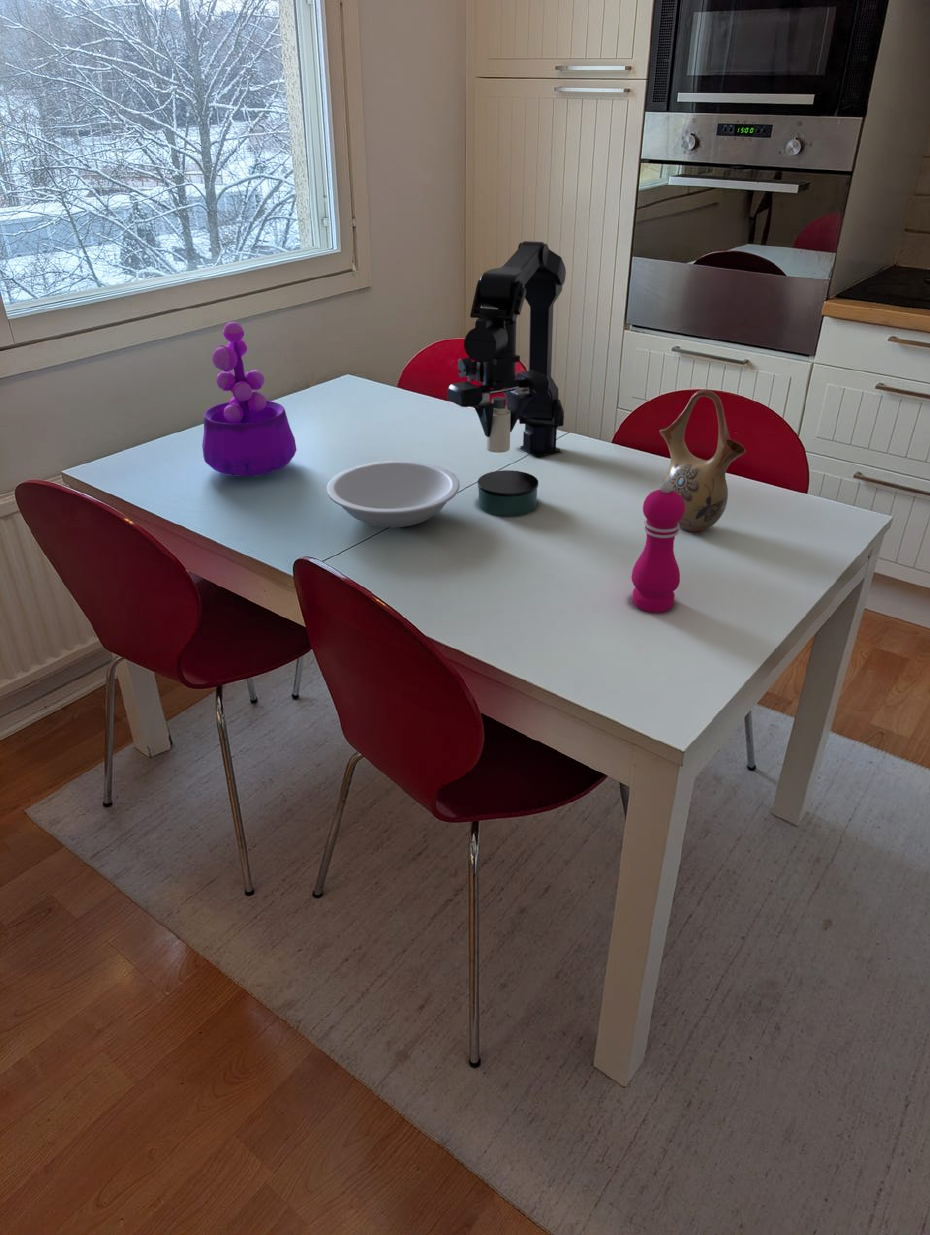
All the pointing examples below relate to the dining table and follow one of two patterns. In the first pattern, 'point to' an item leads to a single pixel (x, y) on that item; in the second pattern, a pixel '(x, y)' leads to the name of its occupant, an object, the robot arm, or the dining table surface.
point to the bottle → (499, 427)
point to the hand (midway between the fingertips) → (498, 434)
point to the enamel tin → (507, 493)
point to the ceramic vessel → (700, 469)
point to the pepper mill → (658, 551)
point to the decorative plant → (244, 418)
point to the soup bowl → (393, 492)
